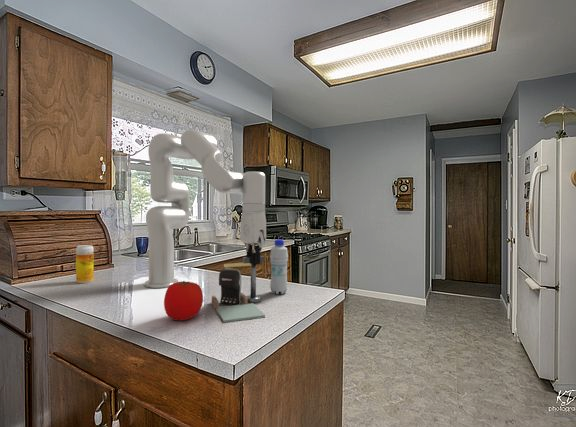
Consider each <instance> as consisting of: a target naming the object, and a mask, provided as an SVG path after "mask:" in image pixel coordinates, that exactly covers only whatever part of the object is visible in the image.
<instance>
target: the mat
mask: <svg viewBox="0 0 576 427" xmlns="http://www.w3.org/2000/svg"><path fill="white" fill-rule="evenodd" d="M215 310H216V312H217V314H218V315H219V317H220V319H221V320H222V322H223V323H225V324H226V323H231V322H238V321H239V322H240V321H246V320H253V319H254V320H255V319H261V318H266V315H265V313H263V311H262V310H261V309H260V308H259V307H258V306H257V304H254V303H250V304H243V303H242V304H241V303H240V304H238V305H226V306H219V307H216V309H215Z"/></svg>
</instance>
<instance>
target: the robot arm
mask: <svg viewBox="0 0 576 427" xmlns="http://www.w3.org/2000/svg"><path fill="white" fill-rule="evenodd" d="M147 151H148V152H147V153H148V159H149V165H150V180H149V181H150V182H149V183H150V184H149V185H150V198H151V199H152V201H153V202H156V203H163V204H171V205H156V206H154V207H151V208H149V209H148V210H147V211H146V214H145V222H146V223H145V224H146V227H147V232H148V280H145V282H144V287H145V288H148V289H149V288H152V289H162V288H168V287H169V286H170V285H171V284H173V283H176V282H179V279H176V278H175V238H174V235H173V234H172V232H171V230H177V229H182V228H185V227H186V226H188V223H189V220H190V190H189V187H188V185H187V184H186V183H185V182H184V181H181V180H176V179H174V167H173V164H172V162H171V159H169V157H171V158H174V159H175V158H176V159H181V160H187V161H188V160H195V161H196V162H197V163H198V164H199V165H200V166H201V173H202V176H203V177H204V180H206V182H207V183H208V184H209V185H211V187H212V188H213V189H215V190H216V191H217V192H219V193H222V194H234V195H242V213H241V218H240V227H239V228H240V230H239V241H241V243H243V245H244V246H245V252H246V257H251V265H256V266H257V265H260V264H261V262H260V256H261V253H262V249H263V248H264V247H265V246H266V243H265V242H266V241H267V223H266V222H267V221H266V220H267V219H266V174H265V173H264V172H262V171H254V170H253V171H245V172H237V171H234V170H232V171H231V170H228V169H225V167H223V166H222V165H221V164H220V162H221V159H222V153H221V151H220V149H218V141H217V140H216V138H215V137H214V136H213V135H212V134H210V133H207V132H204V131H200V130H197V129H187V130H185V131H183V133H182V134H181V136H178V135H175V134H171V133H157V134H156V135H155V134H154V136H153V137H152V138H151V140H150V142H149V144H148V149H147Z"/></svg>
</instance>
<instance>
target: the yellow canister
mask: <svg viewBox="0 0 576 427" xmlns="http://www.w3.org/2000/svg"><path fill="white" fill-rule="evenodd" d="M94 251H95V248H94V246H93V245H92V244H82V245H77V246H76V248H75V281H76V282H77V283H78V284H80V285H81V284H90V283H92V282H93V280H95V279H94V278H95V276H94V275H95V274H94V272H95V271H94V269H95V268H94V267H95V266H94V265H95V263H94V258H95V255H94V254H95V253H94Z"/></svg>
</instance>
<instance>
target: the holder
mask: <svg viewBox="0 0 576 427" xmlns="http://www.w3.org/2000/svg"><path fill="white" fill-rule="evenodd" d="M246 296H247V295H245V294H244V293H243V292H241V303H242V304H248V298H247V297H246ZM211 304H212V306H213V308H214V310H216V307H220V302H219V300H218V299H217V297H216V295H211Z"/></svg>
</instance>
